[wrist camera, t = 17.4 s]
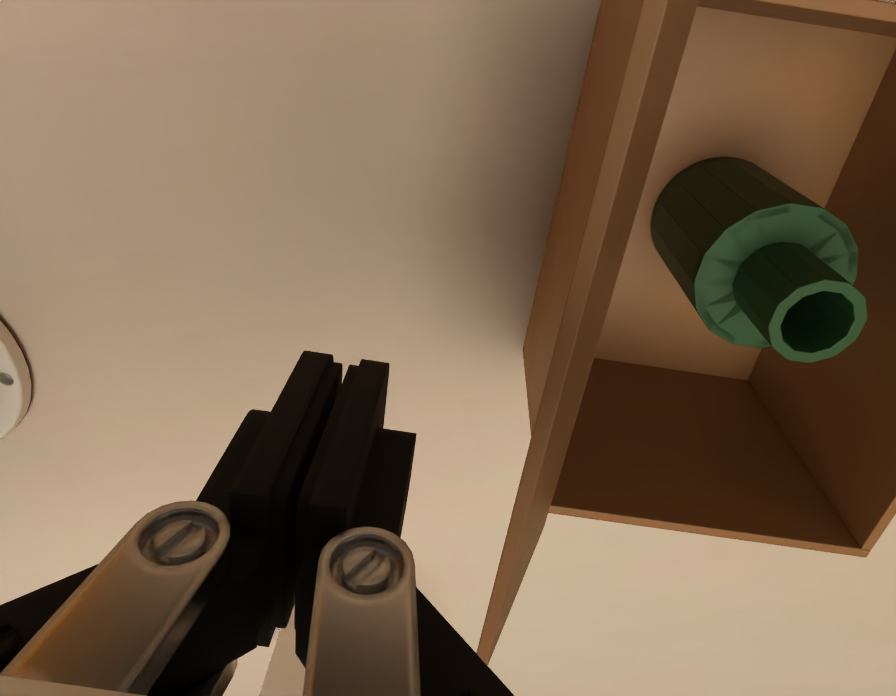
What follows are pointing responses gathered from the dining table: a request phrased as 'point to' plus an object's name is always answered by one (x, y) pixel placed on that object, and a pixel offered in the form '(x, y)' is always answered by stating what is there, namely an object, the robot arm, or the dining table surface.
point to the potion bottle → (284, 666)
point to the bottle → (760, 260)
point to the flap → (592, 285)
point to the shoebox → (680, 327)
